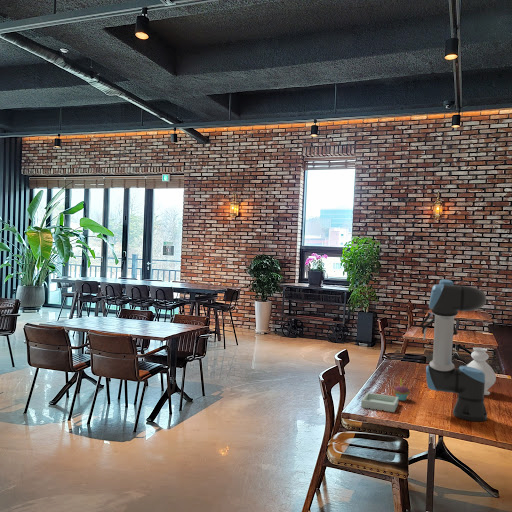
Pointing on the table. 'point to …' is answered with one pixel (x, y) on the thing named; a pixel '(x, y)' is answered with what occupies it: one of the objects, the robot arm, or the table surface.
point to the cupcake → (401, 391)
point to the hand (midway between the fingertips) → (436, 342)
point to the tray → (379, 402)
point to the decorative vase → (483, 367)
